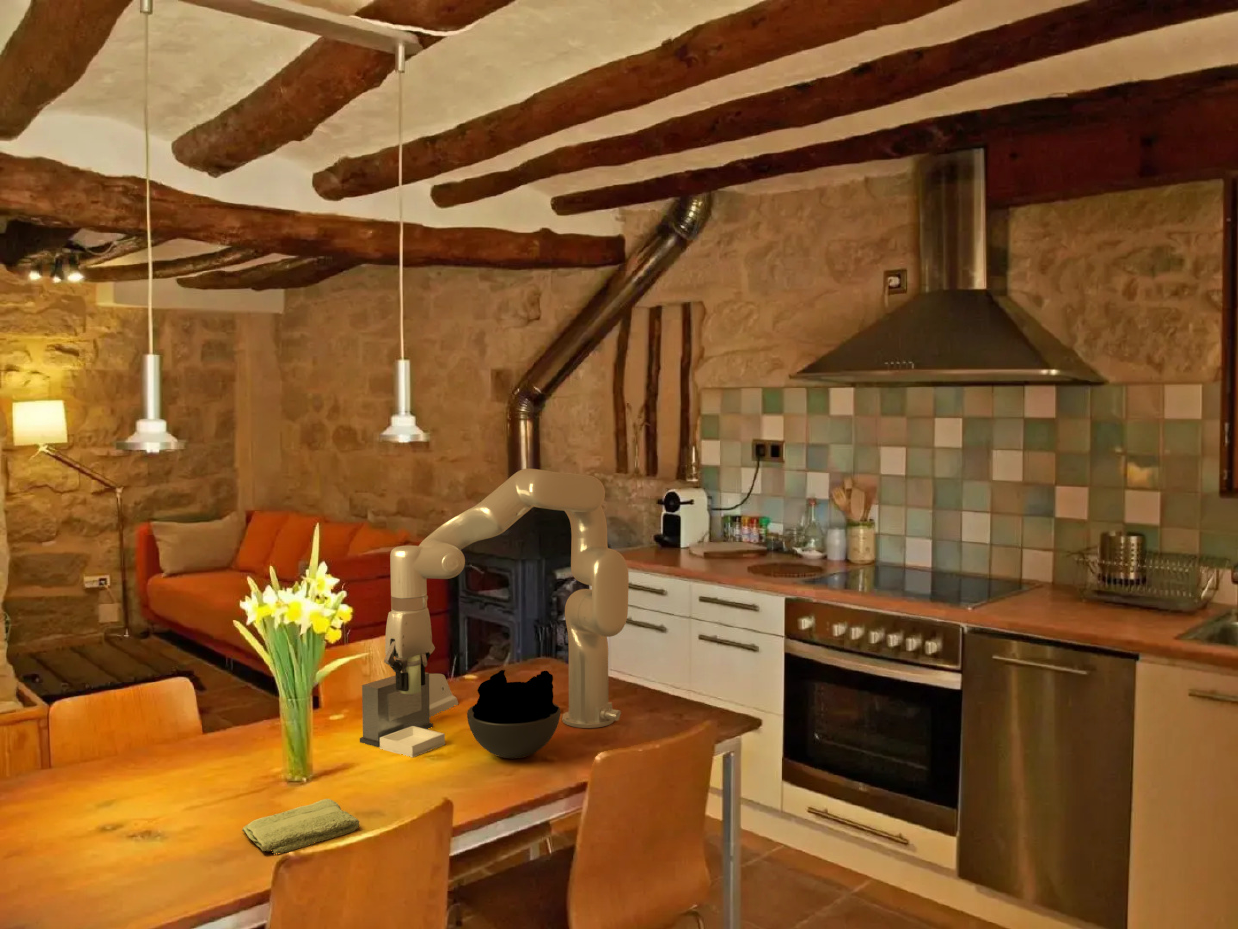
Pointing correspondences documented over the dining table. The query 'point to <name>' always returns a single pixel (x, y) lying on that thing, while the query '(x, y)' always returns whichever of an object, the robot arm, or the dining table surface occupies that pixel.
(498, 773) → the dining table surface
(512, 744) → the coal bowl
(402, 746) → the parts tray
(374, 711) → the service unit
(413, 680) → the olive green jar
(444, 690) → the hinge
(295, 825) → the washcloth
